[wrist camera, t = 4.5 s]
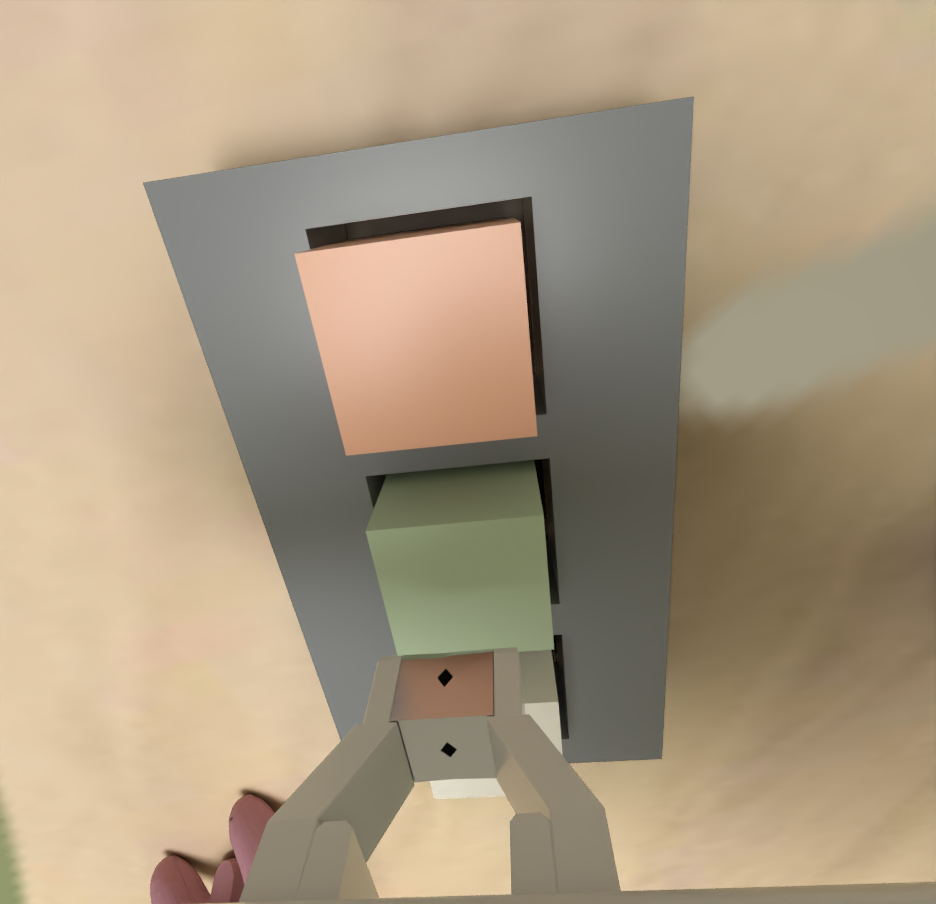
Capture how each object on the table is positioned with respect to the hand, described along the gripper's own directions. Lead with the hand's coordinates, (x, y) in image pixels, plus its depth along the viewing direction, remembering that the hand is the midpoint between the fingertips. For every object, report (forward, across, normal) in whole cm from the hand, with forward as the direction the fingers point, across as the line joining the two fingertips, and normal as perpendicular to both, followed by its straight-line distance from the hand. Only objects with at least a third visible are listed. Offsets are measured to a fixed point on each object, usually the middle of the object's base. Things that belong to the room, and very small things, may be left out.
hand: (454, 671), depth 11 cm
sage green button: (+7, 0, 0) cm, 7 cm away
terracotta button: (+7, 0, +6) cm, 9 cm away
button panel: (+8, 0, 0) cm, 8 cm away
